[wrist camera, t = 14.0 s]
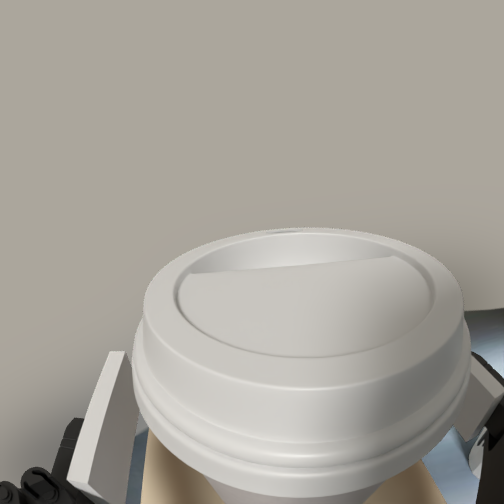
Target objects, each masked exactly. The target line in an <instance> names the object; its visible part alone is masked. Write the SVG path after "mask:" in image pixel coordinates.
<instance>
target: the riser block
mask: <svg viewBox="0 0 504 504" xmlns="http://www.w3.org/2000/svg"><path fill="white" fill-rule="evenodd" d="M141 504H225V503H224V501H223V500H222V499H221V498H220V496H219V495H218V494H217V492H216V491H215V490H214V489H213V487H212V486H211V485H210V483H209V482H208V481H207V479H206V478H205V477H204V475H203V474H202V473H200V472H198V471H197V470H195V469H193V468H192V467H190V466H189V465H187V464H186V463H184V462H183V461H182V460H180V459H179V458H178V457H176V456H175V455H174V454H173V453H172V452H170V451H169V450H168V449H167V448H166V447H165V446H164V445H163V444H162V443H161V442H160V441H159V439H158V438H157V437H156V436H155V435H154V433H153V432H152V431H151V429H150V428H149V434H148V441H147V449H146V457H145V466H144V475H143V485H142V496H141ZM363 504H447V503H446V501H445V499H444V498H443V496H442V494H441V492H440V491H439V489H438V487H437V485H436V484H435V482H434V480H433V479H432V477H431V475H430V473H429V472H428V470H427V468H426V467H425V465H424V463H423V462H422V460H421V459H420V460H419V461H418V462H416V463H415V464H413V465H412V466H410V467H409V468H407V469H406V470H404V471H402V472H400V473H399V474H397V475H395V476H393V477H391V478H389V479H387V480H386V481H385V482H384V483H383V484H382V485H381V486H380V487H379V488H378V489H377V490H376V491H375V492H374V493H373V494H372V495H371V496H370V497H369V498H368V499H367V500H366V501H365V502H364V503H363Z"/></svg>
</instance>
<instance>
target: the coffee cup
mask: <svg viewBox="0 0 504 504" xmlns="http://www.w3.org/2000/svg"><path fill="white" fill-rule="evenodd" d="M470 372H471V341H470V335H469V330H468V327H467V324H466V321H465V319H464V300H463V294H462V290H461V287H460V285H459V283H458V281H457V280H456V278H455V277H454V275H453V274H452V273H451V272H450V270H449V269H448V268H447V267H446V266H444V265H443V264H442V263H441V262H440V261H438V260H437V259H435V258H434V257H433V256H431V255H429V254H428V253H426V252H424V251H422V250H420V249H418V248H416V247H414V246H412V245H409V244H407V243H404V242H401V241H398V240H395V239H392V238H388V237H384V236H380V235H376V234H371V233H365V232H360V231H353V230H345V229H333V228H285V229H273V230H265V231H257V232H251V233H246V234H241V235H236V236H232V237H228V238H224V239H220V240H217V241H214V242H211V243H208V244H205V245H202V246H200V247H197V248H195V249H193V250H191V251H188V252H187V253H185V254H183V255H181V256H179V257H177V258H176V259H174V260H173V261H171V262H170V263H168V264H167V265H166V266H165V267H163V268H162V269H161V270H160V271H159V272H158V273H157V274H156V276H155V277H154V278H153V279H152V281H151V283H150V284H149V286H148V288H147V290H146V293H145V297H144V305H143V317H142V319H141V321H140V323H139V326H138V328H137V331H136V334H135V340H134V347H133V354H132V376H133V387H134V393H135V397H136V401H137V404H138V407H139V409H140V412H141V413H142V416H143V417H144V419H145V421H146V423H147V424H148V426H149V428H150V429H151V431H152V432H153V433H154V435H155V436H156V437H157V438H158V439H159V441H160V442H161V443H162V444H163V445H164V446H165V447H166V448H167V449H168V450H169V451H170V452H172V453H173V454H174V455H175V456H176V457H178V458H179V459H180V460H182V461H183V462H184V463H186V464H187V465H189V466H190V467H192V468H193V469H195V470H197V471H198V472H200V473H202V474H203V475H204V477H205V478H206V479H207V481H208V482H209V483H210V485H211V486H212V487H213V489H214V490H215V491H216V492H217V494H218V495H219V496H220V498H221V499H222V500H223V501H224V503H225V504H363V503H364V502H365V501H366V500H367V499H368V498H369V497H370V496H371V495H372V494H373V493H374V492H375V491H376V490H377V489H378V488H379V487H380V486H381V485H382V484H383V483H384V482H385V481H386V480H387V479H389V478H391V477H393V476H395V475H397V474H399V473H400V472H402V471H404V470H406V469H407V468H409V467H410V466H412V465H413V464H415V463H416V462H418V461H419V460H420V459H422V458H423V457H424V456H425V455H427V454H428V453H429V452H430V451H431V450H432V449H433V448H434V447H435V446H436V445H437V444H438V443H439V442H440V441H441V440H442V439H443V437H444V436H445V435H446V434H447V432H448V431H449V430H450V428H451V427H452V425H453V424H454V422H455V421H456V419H457V417H458V415H459V413H460V411H461V409H462V406H463V404H464V401H465V398H466V394H467V389H468V384H469V378H470Z"/></svg>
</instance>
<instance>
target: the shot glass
mask: <svg viewBox="0 0 504 504" xmlns="http://www.w3.org/2000/svg"><path fill="white" fill-rule="evenodd" d="M486 430H487V429H486V427H484V429H483V430H482V432H481V434H480V436H479V437H478V439H477V441H476V442H475V444H474V446H473V447H472V449H471V452H470V454H469V466H470V469H471V471H472V473H473V474H474V475H475V476H476V477H477V478H478V479H480V475H481V468H482V459H483V448H484V446H482V444H483V443H484V440H483V441H482V442H481V444H480V445H479V446H477V443H478V441H479V440H480V438H481V437H482V436H483V434H484V433H485V432H486Z"/></svg>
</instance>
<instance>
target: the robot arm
mask: <svg viewBox="0 0 504 504" xmlns="http://www.w3.org/2000/svg"><path fill="white" fill-rule="evenodd" d="M139 411H140V409H139V407H138V404H137V401H136V397H135V393H134V387H133V376H132V367H131V365H130V362H129V360H128V357H127V354H126V352H125V351H110V353H109V355H108V357H107V360H106V362H105V365H104V367H103V370H102V373H101V375H100V378H99V381H98V383H97V386H96V388H95V391H94V394H93V396H92V399H91V402H90V405H89V408H88V410H87V414H86V417H85V419H82V418H74V419H73V420H72V421H71V422H70V423H69V425H68V426H67V428H66V430H65V433H64V436H63V439H62V441H61V444H60V446H61V447H60V448H59V451H58V453H57V456H56V459H55V463H54V466H53V469H52V473H51V474H50V473H49V472H48V471H47V470H45V469H43V468H40V467H33V468H30V469H28V470H27V471H25V473H24V474H23V476H22V478H21V489H18V488H17V487H16V486H15V485H14V484H12V483H10V482H8V481H2V482H0V504H125V501H126V493H127V485H128V477H129V470H130V463H131V457H132V450H133V444H134V438H135V432H136V426H137V421H138V416H139ZM453 425H454V427H455V428H456V429H457V431H458V432H459V433H460V435H461V436H462V438H463V439H464V440H465V442H468V441H469V440H471V439H472V438H474V437H475V436H477V435H478V434H479V433H480V431H481V430H482V428H483V427H484V426H485V427H486V429H487V430H486V432H485V433H484V434H483V436H482V437H481V438H480V440H479V441H478V443H477V446H479V445H480V444H481V442H482V441H483V440H484V443H483V444H482V446H484V448H483V459H482V468H481V475H480V482H479V488H478V494H477V499H476V504H504V378H503V377H502V376H501V375H500V374H499V373H498V372H497V371H496V370H495V369H493V367H492V366H491V365H490V364H487V362H486V361H485V360H484V359H483V358H482V357H481V356H480V355H478V354H476V353H474V352H472V351H471V372H470V378H469V384H468V389H467V394H466V398H465V401H464V404H463V406H462V409H461V411H460V413H459V415H458V417H457V419H456V421H455V422H454V424H453Z"/></svg>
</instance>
